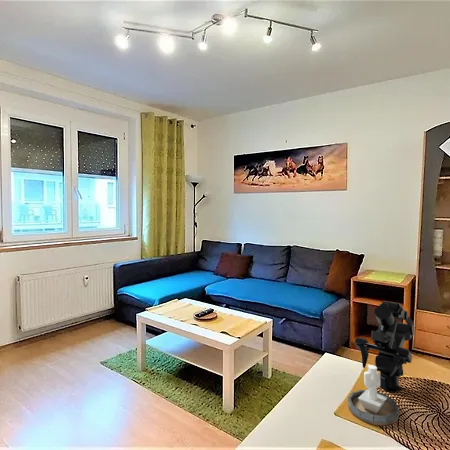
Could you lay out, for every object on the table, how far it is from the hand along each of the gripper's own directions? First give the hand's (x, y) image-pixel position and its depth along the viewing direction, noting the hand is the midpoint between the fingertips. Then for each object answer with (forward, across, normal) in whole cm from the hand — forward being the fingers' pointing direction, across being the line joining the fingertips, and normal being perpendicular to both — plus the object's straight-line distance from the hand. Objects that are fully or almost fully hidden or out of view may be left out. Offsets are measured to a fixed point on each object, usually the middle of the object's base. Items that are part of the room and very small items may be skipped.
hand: (376, 371), depth 118 cm
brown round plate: (+12, 0, +5) cm, 13 cm away
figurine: (+11, 0, +5) cm, 12 cm away
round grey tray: (+12, 0, +5) cm, 13 cm away
